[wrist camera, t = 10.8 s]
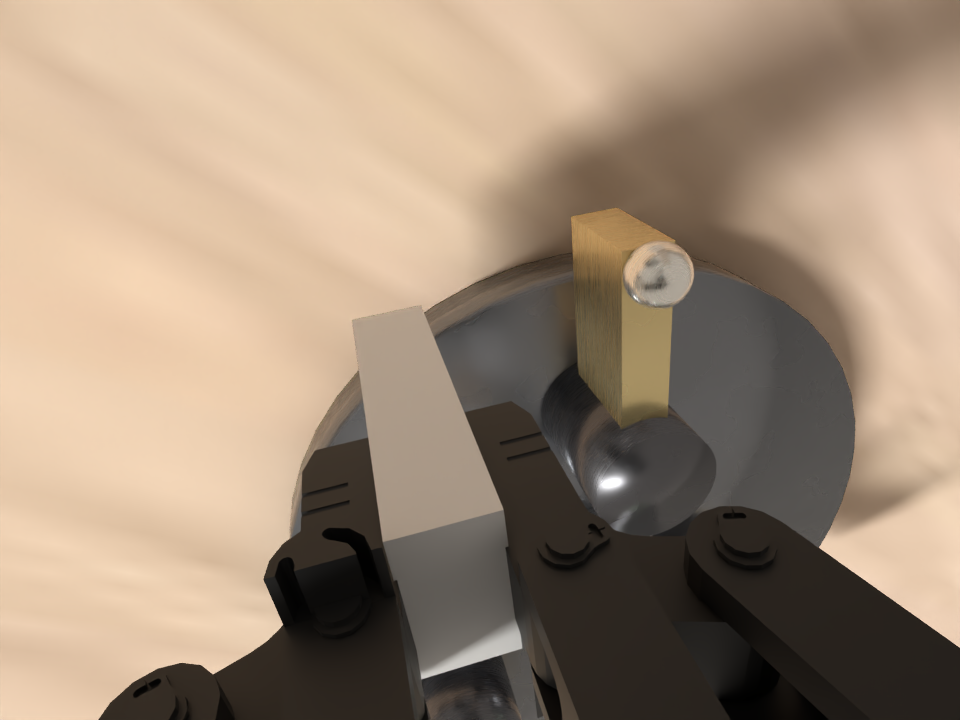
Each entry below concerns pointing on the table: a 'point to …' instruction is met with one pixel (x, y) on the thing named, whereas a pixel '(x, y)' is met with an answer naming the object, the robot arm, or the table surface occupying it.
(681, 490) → the knob
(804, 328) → the level base
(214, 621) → the table surface
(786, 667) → the robot arm
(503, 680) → the knob
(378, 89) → the table surface
